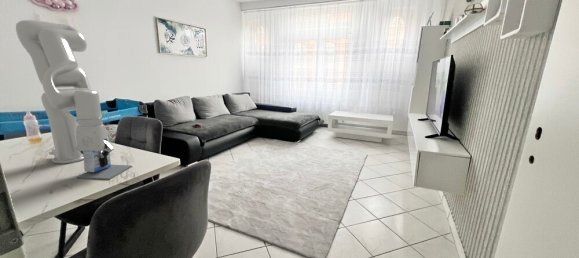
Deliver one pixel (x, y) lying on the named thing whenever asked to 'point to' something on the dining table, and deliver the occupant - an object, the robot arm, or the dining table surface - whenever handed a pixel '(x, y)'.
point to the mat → (105, 172)
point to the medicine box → (94, 161)
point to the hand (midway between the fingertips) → (97, 165)
